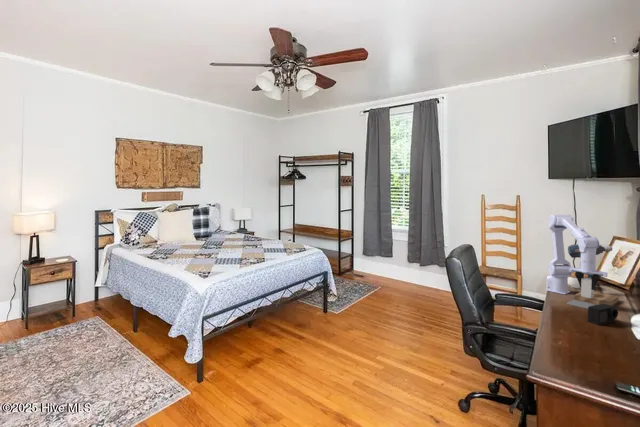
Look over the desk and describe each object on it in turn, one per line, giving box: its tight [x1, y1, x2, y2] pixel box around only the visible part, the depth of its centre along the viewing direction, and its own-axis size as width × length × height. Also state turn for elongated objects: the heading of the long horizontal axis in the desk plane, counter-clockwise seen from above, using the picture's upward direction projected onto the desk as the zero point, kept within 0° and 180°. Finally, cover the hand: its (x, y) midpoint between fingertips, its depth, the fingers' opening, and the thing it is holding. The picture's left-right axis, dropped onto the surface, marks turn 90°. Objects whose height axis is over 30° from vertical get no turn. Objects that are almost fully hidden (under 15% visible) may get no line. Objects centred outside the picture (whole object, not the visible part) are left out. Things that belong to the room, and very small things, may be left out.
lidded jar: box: [568, 272, 588, 289], centre depth 189 cm, size 11×11×9 cm
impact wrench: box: [567, 243, 613, 286], centre depth 194 cm, size 8×23×25 cm, turn 78°
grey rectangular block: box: [580, 277, 595, 298], centre depth 158 cm, size 4×4×9 cm
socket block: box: [574, 291, 620, 306], centre depth 166 cm, size 14×14×2 cm
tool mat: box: [565, 299, 597, 310], centre depth 158 cm, size 14×10×1 cm
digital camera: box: [587, 304, 619, 326], centre depth 138 cm, size 10×5×7 cm, turn 107°
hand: (587, 288), depth 158 cm, fingers closed on grey rectangular block, 4 cm apart
